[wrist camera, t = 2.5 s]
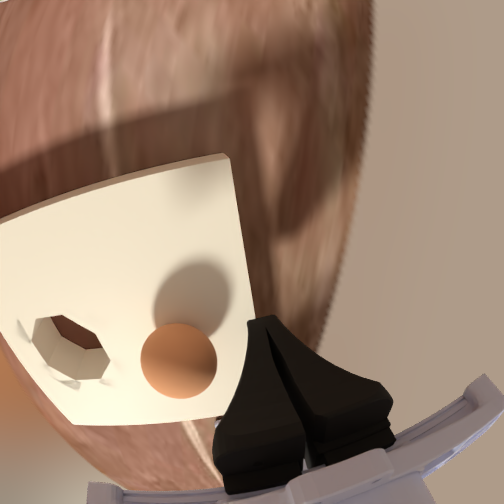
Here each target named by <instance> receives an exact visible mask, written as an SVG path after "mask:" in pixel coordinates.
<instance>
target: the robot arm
mask: <svg viewBox="0 0 504 504" xmlns="http://www.w3.org/2000/svg"><path fill="white" fill-rule="evenodd" d="M247 328H248V341H247V350H246V356H245V361H244V366H243V370H242V374H241V377H240V380H239V383H238V386H237V388H236V391H235V394H234V396H233V398H232V400H231V402H230V404H229V406H228V408H227V410H226V412H225V414H224V416H223V417H222V419H221V420H217V421H215V427H216V430H215V434H214V439H213V446H212V454H213V461H214V465H215V466H216V468H217V469H218V470H219V472H220V473H221V474H222V476H223V482H224V487H219V488H210V489H199V490H184V491H134V490H122V489H121V488H120V487H119V486H117V485H114V484H111V483H103V482H94V481H89V482H88V491H87V504H436V503H435V501H434V499H433V497H432V495H431V493H430V491H429V490H428V488H427V486H426V484H425V482H424V481H423V478H425V477H426V476H428V475H430V474H431V473H432V472H434V471H435V470H437V469H438V468H440V467H441V466H443V465H444V464H446V463H447V462H448V461H450V460H451V459H452V458H454V457H455V456H456V455H458V454H459V453H460V452H461V451H463V450H464V449H465V448H466V447H468V446H469V445H470V444H472V443H473V442H474V441H475V440H476V439H478V437H480V436H481V435H482V434H484V433H485V432H486V431H487V430H488V429H489V428H490V427H491V426H492V425H493V423H494V422H495V421H496V420H497V419H498V418H499V416H500V415H501V414H502V413H503V412H504V395H503V394H502V393H501V392H500V391H499V389H498V388H497V387H496V386H495V385H494V384H493V382H492V381H491V380H490V379H489V378H488V377H487V376H486V374H482V375H481V376H480V377H479V378H477V379H476V380H475V381H473V382H472V383H471V384H470V385H469V386H468V387H467V388H466V390H465V391H464V393H463V395H462V396H460V397H459V398H458V399H456V400H455V401H453V402H452V403H450V404H449V405H447V406H445V407H444V408H442V409H441V410H439V411H438V412H436V413H434V414H433V415H431V416H429V417H428V418H426V419H424V420H422V421H421V422H419V423H417V424H415V425H414V426H412V427H410V428H408V429H406V430H404V431H402V432H400V433H398V434H396V435H394V434H393V433H392V431H391V429H390V425H391V424H390V422H389V420H388V418H387V417H388V415H389V412H390V410H391V408H392V405H393V399H392V397H391V396H390V394H389V393H388V391H387V390H386V389H385V388H384V387H383V386H382V385H381V384H380V383H379V382H377V381H373V380H370V379H366V378H363V377H360V376H357V375H355V374H352V373H350V372H348V371H346V370H344V369H342V368H339V367H338V366H335V365H334V364H332V363H330V362H328V361H327V360H325V359H324V358H322V357H320V356H319V355H318V354H316V353H315V352H313V351H312V350H311V349H309V348H308V347H307V346H306V345H304V344H303V343H302V342H301V341H300V340H299V339H297V338H296V337H295V336H294V335H293V334H292V333H291V332H290V331H289V330H288V329H287V328H286V327H285V326H284V325H283V324H282V323H281V321H280V320H279V319H278V318H277V316H275V315H270V316H265V317H261V318H256V319H252V320H248V321H247Z"/></svg>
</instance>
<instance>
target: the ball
mask: <svg viewBox="0 0 504 504" xmlns="http://www.w3.org/2000/svg"><path fill="white" fill-rule="evenodd" d="M140 362H141V368H142V372H143V374H144V376H145V378H146V380H147V381H148V383H149V384H150V385H151V386H152V387H153V388H154V389H155V390H156V391H158V392H159V393H161V394H163V395H165V396H167V397H170V398H175V399H187V398H191V397H194V396H197V395H199V394H200V393H202V392H203V391H205V390H206V389H207V388H208V387H209V386H210V384H211V383H212V381H213V379H214V377H215V375H216V372H217V355H216V351H215V348H214V346H213V344H212V342H211V341H210V340H209V338H208V337H207V336H206V335H205V334H204V333H203V332H201V331H200V330H199V329H197V328H195V327H193V326H190V325H187V324H182V323H172V324H167V325H164V326H161V327H159V328H158V329H156V330H155V331H153V332H152V333H151V334H150V335H149V336H148V338H147V339H146V341H145V342H144V344H143V347H142V350H141V356H140Z"/></svg>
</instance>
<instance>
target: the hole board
mask: <svg viewBox="0 0 504 504" xmlns="http://www.w3.org/2000/svg"><path fill="white" fill-rule="evenodd" d="M57 315H63V316H65V317H67V318H68V319H70V320H72V321H74V322H75V323H77V324H79V325H81V326H82V327H84V328H86V329H88V330H90V331H92V332H93V333H95V334H96V336H97V338H98V339H99V341H100V343H101V345H102V347H103V348H96V349H87V350H86V349H84V348H82V347H80V346H78V345H76V344H74V343H73V342H71V341H69V340H67V339H66V338H64V337H62V336H61V335H60V333H59V332H58V330H57V328H56V326H55V325H54V323H53V321H52V319H51V317H50V316H57ZM252 319H256V318H255V312H254V306H253V300H252V294H251V288H250V282H249V276H248V270H247V264H246V257H245V251H244V245H243V239H242V233H241V227H240V221H239V214H238V208H237V202H236V196H235V189H234V183H233V177H232V170H231V164H230V158H229V157H228V156H226V155H225V154H224V153H218V154H213V155H207V156H202V157H197V158H192V159H187V160H183V161H178V162H174V163H169V164H165V165H160V166H156V167H152V168H148V169H144V170H140V171H136V172H133V173H129V174H125V175H122V176H118V177H115V178H111V179H108V180H104V181H101V182H98V183H94V184H91V185H88V186H85V187H82V188H79V189H76V190H73V191H70V192H67V193H64V194H61V195H58V196H56V197H53V198H50V199H47V200H45V201H42V202H39V203H37V204H34V205H32V206H29V207H27V208H24V209H22V210H19V211H17V212H15V213H12V214H10V215H8V216H5V217H3V218H1V219H0V331H1V333H2V335H3V336H4V338H5V340H6V341H7V343H8V344H9V346H10V347H11V349H12V350H13V352H14V353H15V355H16V356H17V358H18V359H19V360H20V362H21V363H22V365H23V366H24V367H25V369H26V370H27V371H28V373H29V374H30V375H31V377H32V378H33V379H34V381H35V382H36V383H37V384H38V386H39V387H40V388H41V389H42V391H43V392H44V393H45V394H46V395H47V396H48V398H49V399H50V400H51V401H52V402H53V403H54V404H55V406H56V407H57V408H58V409H59V410H60V411H61V412H62V413H63V414H64V415H65V416H66V417H67V419H68V420H69V421H70V422H71V423H72V424H75V425H140V424H156V423H167V422H177V421H186V420H194V419H202V418H208V417H215V416H221V415H224V414H225V412H226V410H227V408H228V406H229V404H230V402H231V400H232V398H233V396H234V394H235V391H236V388H237V386H238V383H239V380H240V377H241V374H242V370H243V366H244V361H245V356H246V350H247V341H248V328H247V321H248V320H252ZM172 323H182V324H187V325H190V326H193V327H195V328H197V329H199V330H200V331H201V332H203V333H204V334H205V335H206V336H207V337H208V338H209V340H210V341H211V342H212V344H213V346H214V348H215V351H216V355H217V372H216V375H215V377H214V379H213V381H212V383H211V384H210V386H209V387H208V388H207V389H206V390H205V391H203V392H202V393H200V394H199V395H197V396H194V397H191V398H187V399H175V398H170V397H167V396H165V395H163V394H161V393H159V392H158V391H156V390H155V389H154V388H153V387H152V386H151V385H150V384H149V383H148V381H147V380H146V378H145V376H144V374H143V372H142V368H141V362H140V356H141V350H142V347H143V344H144V342H145V341H146V339H147V338H148V336H149V335H150V334H151V333H152V332H153V331H155V330H156V329H158V328H159V327H161V326H164V325H167V324H172Z"/></svg>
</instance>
